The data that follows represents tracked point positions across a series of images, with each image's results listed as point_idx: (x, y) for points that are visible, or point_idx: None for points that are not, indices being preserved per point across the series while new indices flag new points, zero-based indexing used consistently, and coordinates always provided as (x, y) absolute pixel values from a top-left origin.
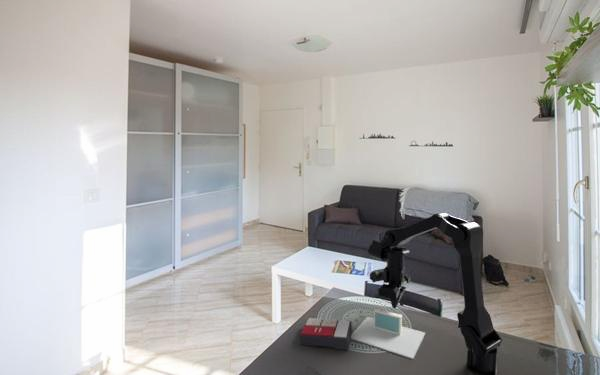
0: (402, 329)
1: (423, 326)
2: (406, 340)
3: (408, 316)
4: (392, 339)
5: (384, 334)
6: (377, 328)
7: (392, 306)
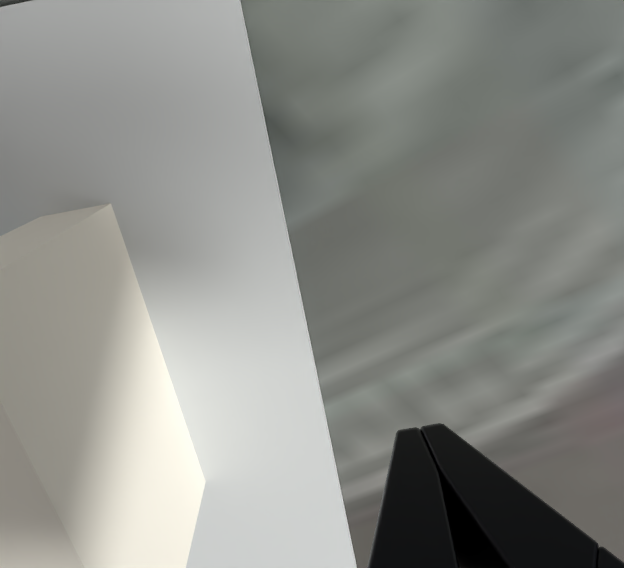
0: (267, 463)
1: None
2: None
3: (619, 369)
4: None
5: None
6: None
7: (394, 448)
